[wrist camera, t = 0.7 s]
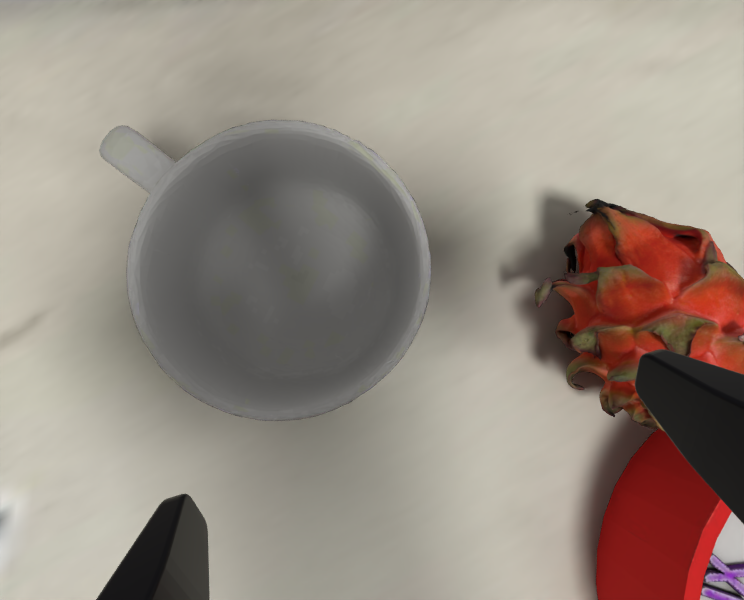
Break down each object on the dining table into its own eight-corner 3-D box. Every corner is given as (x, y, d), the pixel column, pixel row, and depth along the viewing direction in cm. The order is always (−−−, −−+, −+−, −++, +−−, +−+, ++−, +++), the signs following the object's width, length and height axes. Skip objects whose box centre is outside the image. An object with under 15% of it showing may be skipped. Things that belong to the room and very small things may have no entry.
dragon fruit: (609, 434, 25) (531, 248, 28) (793, 397, 21) (682, 182, 24) (596, 486, 18) (492, 229, 21) (872, 444, 14) (700, 128, 16)
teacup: (440, 298, 24) (493, 278, 16) (289, 437, 22) (263, 493, 14) (270, 109, 24) (237, -6, 16) (110, 237, 22) (-14, 182, 14)
